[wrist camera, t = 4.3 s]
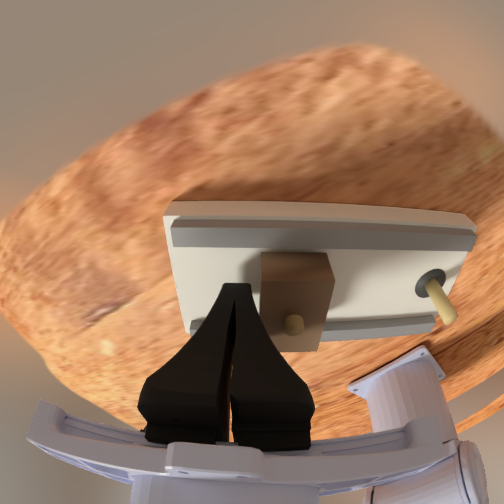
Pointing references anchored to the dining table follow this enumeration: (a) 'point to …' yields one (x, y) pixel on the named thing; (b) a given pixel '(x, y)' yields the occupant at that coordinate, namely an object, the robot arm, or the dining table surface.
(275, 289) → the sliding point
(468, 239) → the plate
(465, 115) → the dining table surface
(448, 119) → the dining table surface
